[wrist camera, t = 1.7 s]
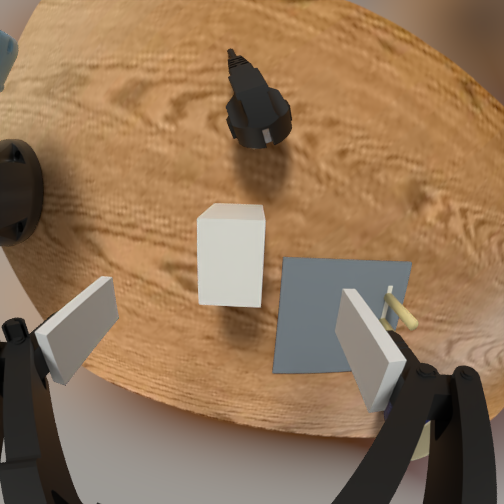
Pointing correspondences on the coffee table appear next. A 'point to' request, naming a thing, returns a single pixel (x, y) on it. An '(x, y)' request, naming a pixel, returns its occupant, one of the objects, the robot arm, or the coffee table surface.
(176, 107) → the coffee table surface
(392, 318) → the board
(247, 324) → the coffee table surface
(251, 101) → the power plug
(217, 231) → the block
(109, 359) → the coffee table surface
